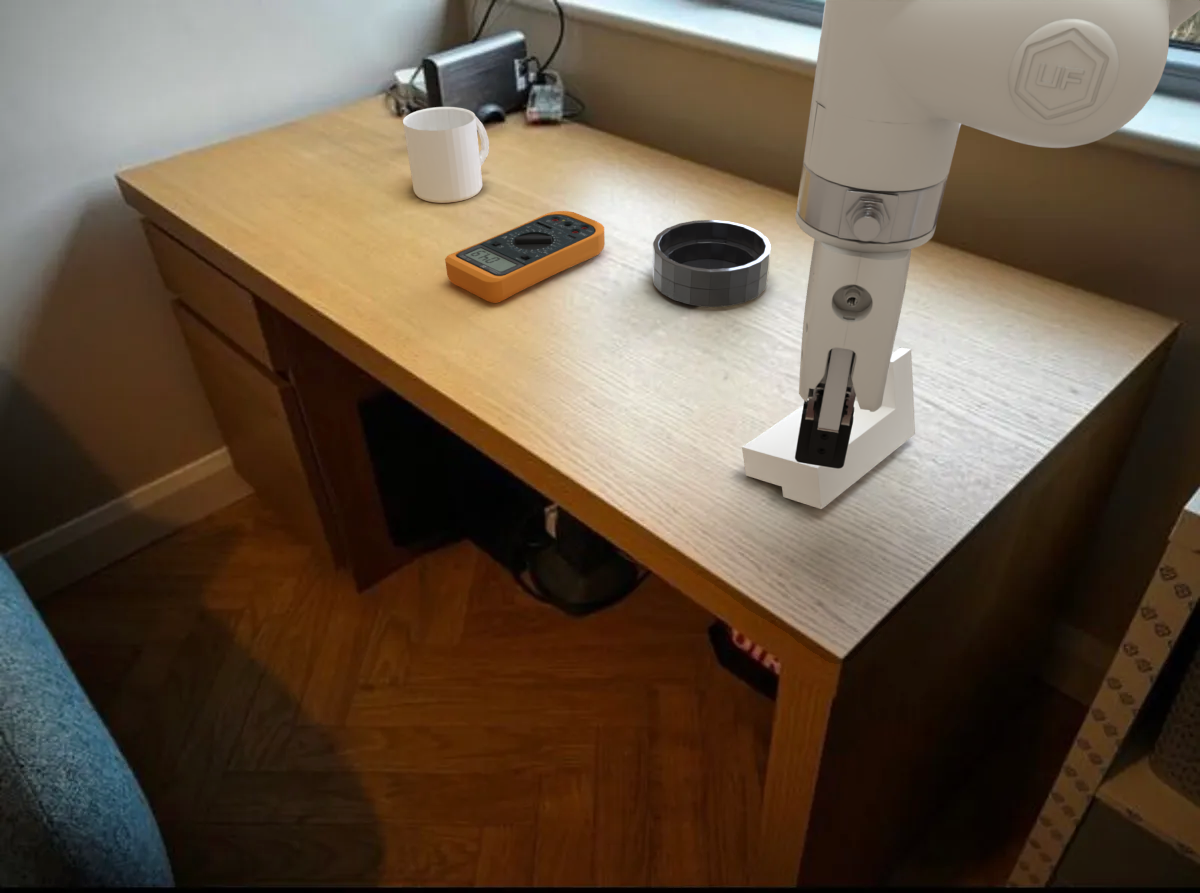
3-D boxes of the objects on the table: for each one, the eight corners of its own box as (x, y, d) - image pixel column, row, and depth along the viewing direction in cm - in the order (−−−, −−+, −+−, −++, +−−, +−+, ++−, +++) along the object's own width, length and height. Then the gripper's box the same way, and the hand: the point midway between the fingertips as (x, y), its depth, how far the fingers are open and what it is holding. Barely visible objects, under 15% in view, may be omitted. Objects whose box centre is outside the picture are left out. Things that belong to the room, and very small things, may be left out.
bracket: (841, 417, 79) (834, 337, 76) (915, 433, 74) (911, 349, 70) (747, 485, 72) (735, 401, 69) (821, 509, 67) (812, 419, 64)
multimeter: (614, 252, 103) (613, 224, 101) (494, 310, 93) (491, 280, 91) (562, 231, 108) (561, 203, 106) (443, 283, 98) (439, 254, 96)
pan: (773, 263, 100) (777, 225, 97) (758, 317, 91) (762, 277, 88) (665, 252, 103) (666, 215, 100) (641, 303, 94) (641, 264, 91)
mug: (436, 209, 114) (426, 135, 108) (401, 188, 119) (389, 117, 114) (514, 184, 120) (508, 113, 114) (477, 166, 125) (470, 97, 119)
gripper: (944, 268, 43) (872, 544, 54) (938, 154, 54) (880, 403, 65) (784, 250, 44) (748, 522, 56) (810, 143, 55) (776, 388, 67)
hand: (819, 457), depth 60 cm, fingers closed
